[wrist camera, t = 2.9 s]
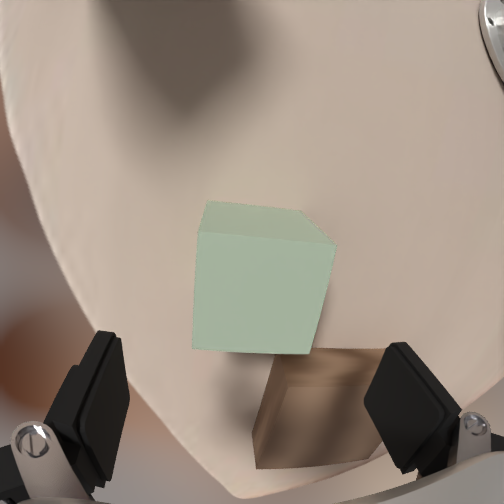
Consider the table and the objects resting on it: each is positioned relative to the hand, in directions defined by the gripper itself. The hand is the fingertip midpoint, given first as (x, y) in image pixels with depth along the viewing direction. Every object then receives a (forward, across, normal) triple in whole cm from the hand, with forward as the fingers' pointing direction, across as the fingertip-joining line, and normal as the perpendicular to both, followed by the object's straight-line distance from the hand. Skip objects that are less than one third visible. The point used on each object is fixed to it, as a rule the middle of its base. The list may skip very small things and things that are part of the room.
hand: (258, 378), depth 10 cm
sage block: (+12, -1, -1) cm, 12 cm away
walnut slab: (+12, -10, +13) cm, 20 cm away
